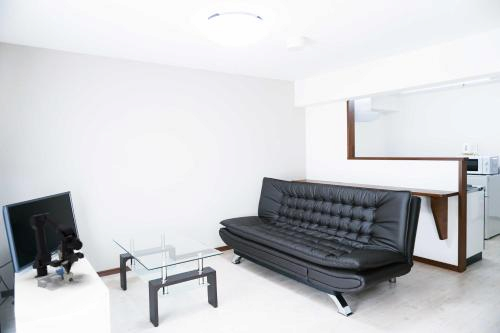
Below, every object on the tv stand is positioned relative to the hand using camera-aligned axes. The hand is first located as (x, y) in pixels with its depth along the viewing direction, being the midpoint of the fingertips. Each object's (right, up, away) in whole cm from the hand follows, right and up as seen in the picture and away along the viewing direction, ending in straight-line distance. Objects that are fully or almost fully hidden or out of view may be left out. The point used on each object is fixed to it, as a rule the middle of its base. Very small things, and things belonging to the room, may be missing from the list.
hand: (68, 273), depth 204 cm
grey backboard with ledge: (-4, -6, -2) cm, 8 cm away
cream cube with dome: (-2, -5, +1) cm, 5 cm away
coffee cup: (-17, -4, +27) cm, 32 cm away
